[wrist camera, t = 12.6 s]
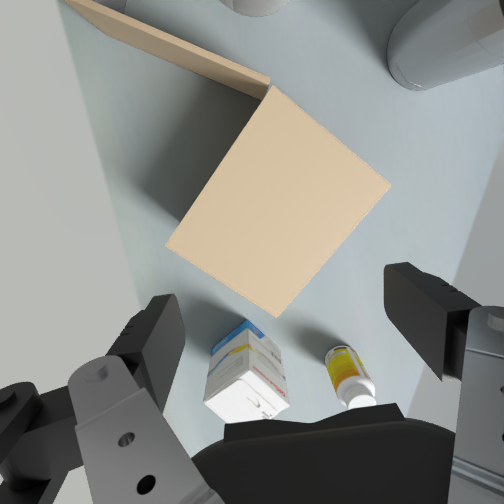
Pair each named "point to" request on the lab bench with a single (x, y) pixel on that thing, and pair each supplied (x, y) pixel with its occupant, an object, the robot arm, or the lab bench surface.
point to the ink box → (246, 377)
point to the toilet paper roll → (255, 6)
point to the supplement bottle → (349, 378)
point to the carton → (277, 205)
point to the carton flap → (169, 46)
